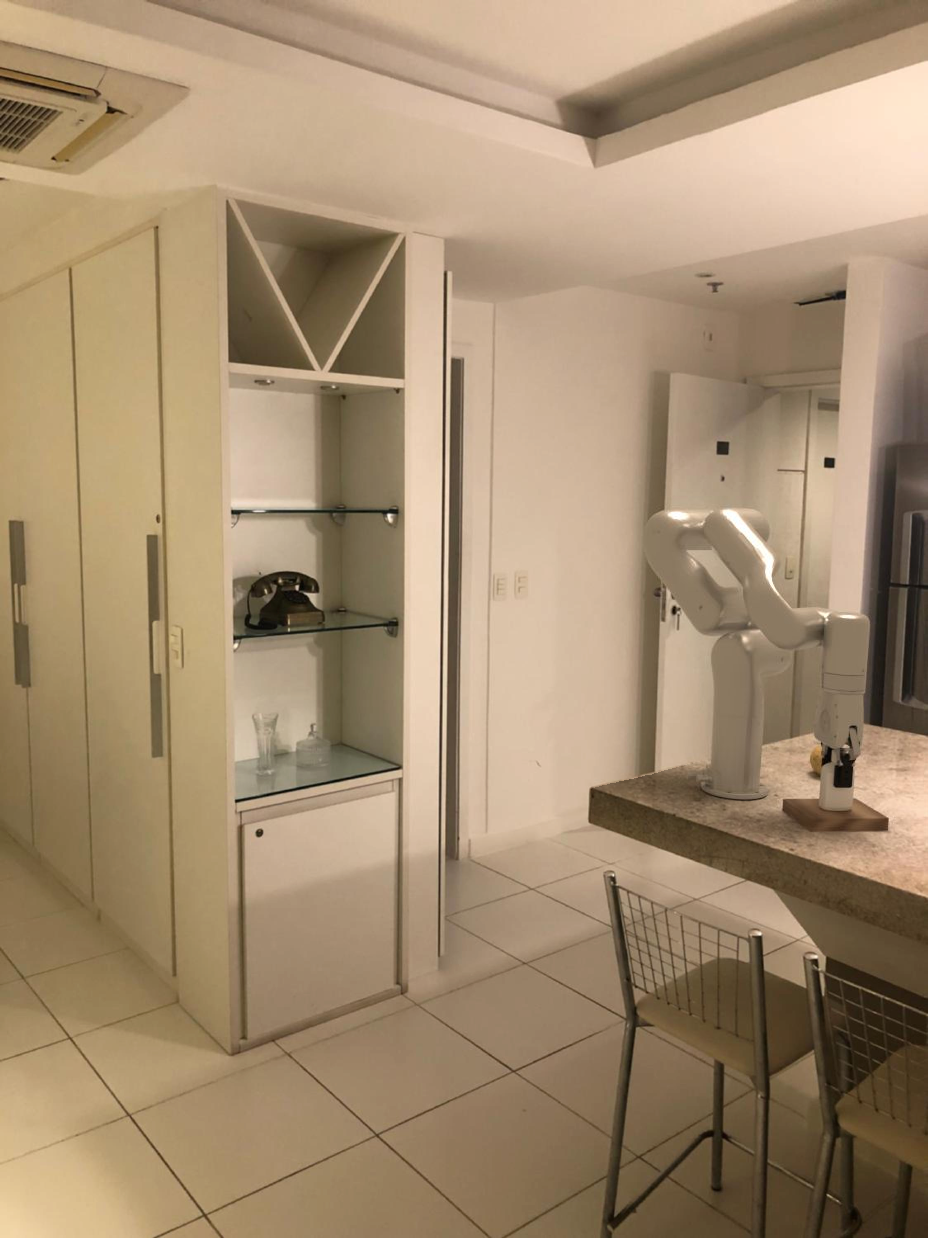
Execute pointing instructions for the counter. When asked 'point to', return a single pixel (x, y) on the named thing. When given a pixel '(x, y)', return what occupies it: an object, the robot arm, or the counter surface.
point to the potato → (816, 759)
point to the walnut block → (835, 816)
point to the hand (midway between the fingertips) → (836, 782)
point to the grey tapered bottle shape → (834, 789)
